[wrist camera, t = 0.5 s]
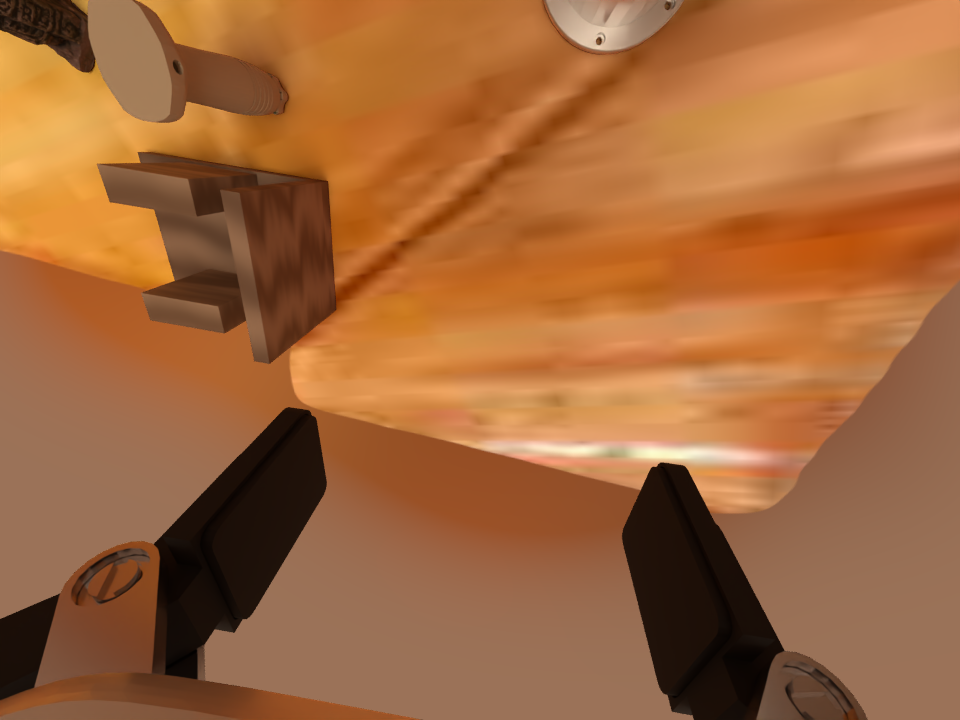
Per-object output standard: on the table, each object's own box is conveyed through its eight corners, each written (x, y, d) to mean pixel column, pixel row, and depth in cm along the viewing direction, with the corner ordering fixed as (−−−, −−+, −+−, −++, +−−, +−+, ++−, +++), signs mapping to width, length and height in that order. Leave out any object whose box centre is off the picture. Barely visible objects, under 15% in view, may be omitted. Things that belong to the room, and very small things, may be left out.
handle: (257, 131, 38) (116, 118, 25) (242, 52, 35) (71, -11, 22) (302, 135, 37) (183, 124, 24) (291, 56, 34) (148, -6, 21)
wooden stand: (150, 152, 40) (-15, 150, 28) (327, 181, 39) (239, 193, 27) (186, 283, 47) (69, 327, 35) (336, 309, 47) (269, 363, 35)
